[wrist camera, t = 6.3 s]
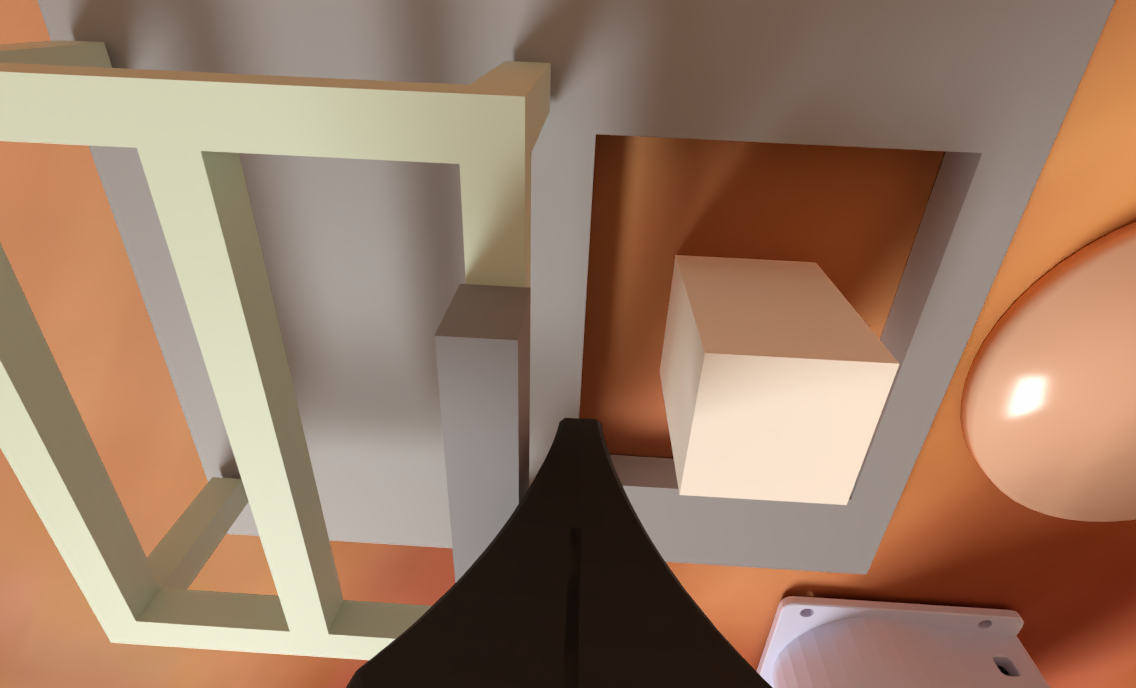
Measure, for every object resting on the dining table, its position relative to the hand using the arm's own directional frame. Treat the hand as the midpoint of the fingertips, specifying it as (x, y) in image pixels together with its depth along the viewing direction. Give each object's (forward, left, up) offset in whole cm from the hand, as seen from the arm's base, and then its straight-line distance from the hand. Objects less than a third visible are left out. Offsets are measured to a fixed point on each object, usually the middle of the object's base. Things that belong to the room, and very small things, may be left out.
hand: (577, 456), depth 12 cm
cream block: (-4, 0, -7) cm, 8 cm away
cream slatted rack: (+7, 0, -5) cm, 8 cm away
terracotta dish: (-17, +1, -7) cm, 19 cm away
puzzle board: (+2, 0, -7) cm, 7 cm away
